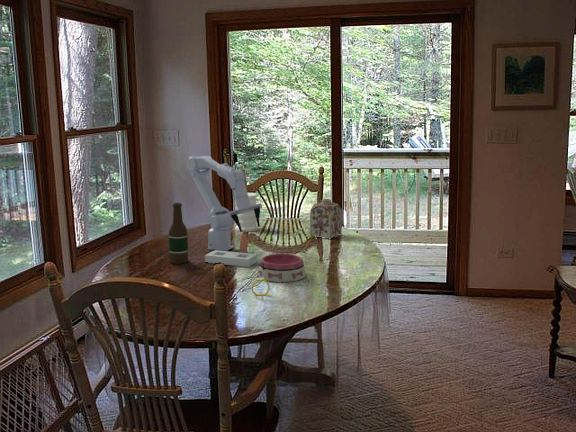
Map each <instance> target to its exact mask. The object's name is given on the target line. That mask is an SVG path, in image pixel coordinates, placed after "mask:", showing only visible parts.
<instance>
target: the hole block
mask: <svg viewBox="0 0 576 432" xmlns="http://www.w3.org/2000/svg"><path fill="white" fill-rule="evenodd" d="M205 262H208V264H215V263H219V262H221V263H222V264H221V265H227V266H234V267H243V268H245V267H247V268H249V267H250V266H252V265H254V264H255V263H257V262H258V254H257V253H249V252H247V253H240V251H239V252H237V251H229V250H228V251H222V250H212V251H211V252H209V253H207V254H205V255H204V263H205ZM223 263H224V264H223Z"/></svg>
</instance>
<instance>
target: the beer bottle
mask: <svg viewBox="0 0 576 432" xmlns="http://www.w3.org/2000/svg"><path fill="white" fill-rule="evenodd" d="M182 206H183V205H182V203H181V202H175V203H172V207H173V209H172V210H173V211H172V224H171V226H170V227H169V230H168V250H169V251H168V254H169V257H168V258H169V262H170V264H173V265H182V263H183V264H187V263H188V261H189V242H188V241H189V240H188V239H189V238H188V236H189V235H188V228H187V226H186V225H185V224H184V222H183V213H182V212H183V211H182ZM186 262H187V263H186Z"/></svg>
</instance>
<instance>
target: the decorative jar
mask: <svg viewBox="0 0 576 432" xmlns="http://www.w3.org/2000/svg"><path fill="white" fill-rule="evenodd" d="M309 211H310V212H309V213H310V214H309V236H316V237H325V238H331V237H334V236H336V235H338V234H341V235H342V229H343V225H342V224H343V223H342V221H343V218H342V217H343V209H342V207H341V206H340V204H338V203H336V202H333V201H332V199H331V198H323V199H321V201H319V202H315V203H313V205H312V206H311V208H310V210H309ZM316 237H315V238H316Z"/></svg>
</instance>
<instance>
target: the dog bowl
mask: <svg viewBox="0 0 576 432" xmlns="http://www.w3.org/2000/svg"><path fill="white" fill-rule="evenodd" d="M258 266H259V267H258V270H257V274H256V276H257V277H256V278H260V277H262V278H264V279H265V280H266V281H267V282H268V283H273V284H274V283H275V284H288V283H289V284H290V283H296V282H301V281H303V280H305V279H306V278H307V276H306V275H307V272H306V269H305V263H304V259H303V258H302V257H300V256H298V255H295V254H291V253H273V254H268V255H265V256H263V257H262V258H261V259H260V262H259V265H258Z"/></svg>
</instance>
